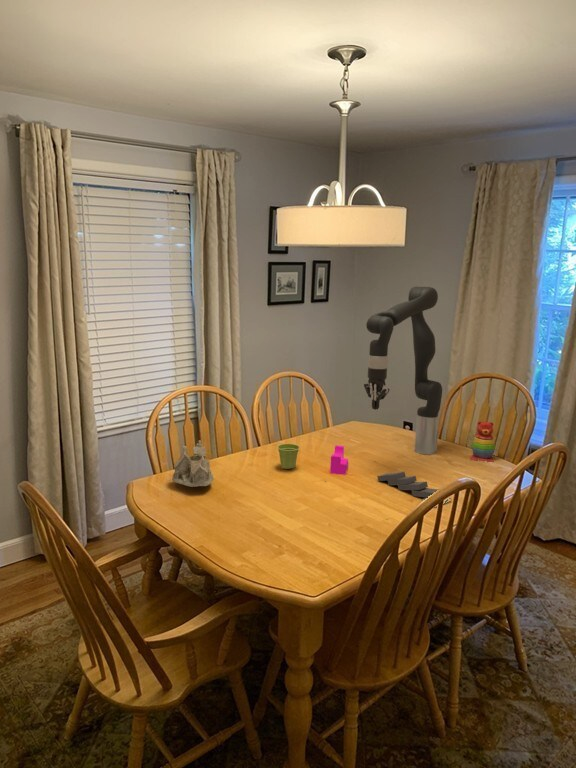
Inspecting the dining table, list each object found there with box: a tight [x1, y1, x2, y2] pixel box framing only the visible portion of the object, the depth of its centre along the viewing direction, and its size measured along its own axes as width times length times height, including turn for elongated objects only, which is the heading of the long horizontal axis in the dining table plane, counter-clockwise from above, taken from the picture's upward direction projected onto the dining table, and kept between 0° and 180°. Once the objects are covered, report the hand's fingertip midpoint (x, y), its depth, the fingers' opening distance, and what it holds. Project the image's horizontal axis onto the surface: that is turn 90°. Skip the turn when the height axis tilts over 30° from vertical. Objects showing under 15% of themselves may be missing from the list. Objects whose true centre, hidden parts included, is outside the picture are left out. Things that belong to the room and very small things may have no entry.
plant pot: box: [276, 443, 300, 470], centre depth 234 cm, size 9×9×9 cm
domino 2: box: [386, 475, 418, 486], centre depth 215 cm, size 2×5×10 cm
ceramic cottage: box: [171, 440, 215, 488], centre depth 215 cm, size 16×16×15 cm
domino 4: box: [411, 487, 440, 498], centre depth 206 cm, size 2×5×10 cm
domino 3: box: [397, 481, 429, 491], centre depth 211 cm, size 2×5×10 cm
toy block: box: [329, 445, 349, 476], centre depth 235 cm, size 15×6×8 cm, turn 168°
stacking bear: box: [469, 421, 496, 463], centre depth 247 cm, size 11×10×18 cm
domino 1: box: [377, 471, 407, 482], centre depth 219 cm, size 2×5×10 cm
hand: (375, 408), depth 226 cm, fingers closed
